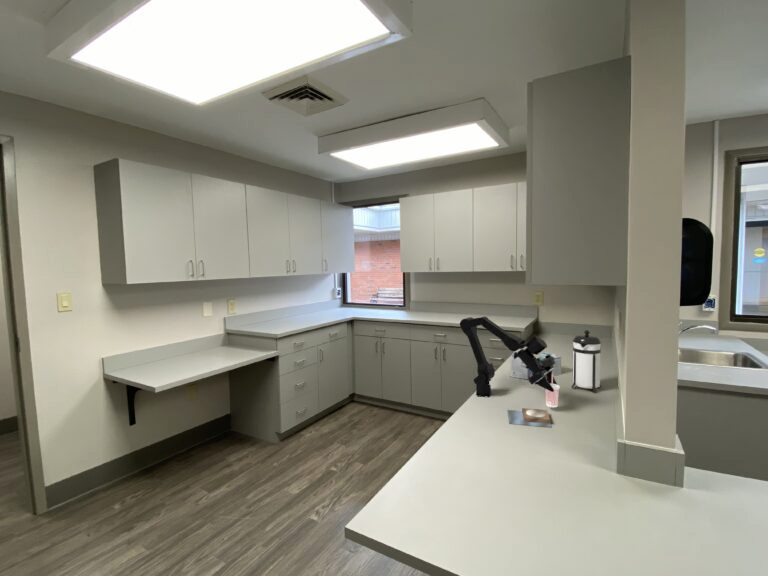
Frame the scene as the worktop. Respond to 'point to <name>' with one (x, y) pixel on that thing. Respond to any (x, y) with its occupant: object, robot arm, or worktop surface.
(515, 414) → the blueprint plinth
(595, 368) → the coffee press
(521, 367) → the ink cartridge box
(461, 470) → the worktop surface
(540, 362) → the robot arm
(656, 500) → the worktop surface
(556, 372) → the light bulb box
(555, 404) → the beverage cup
